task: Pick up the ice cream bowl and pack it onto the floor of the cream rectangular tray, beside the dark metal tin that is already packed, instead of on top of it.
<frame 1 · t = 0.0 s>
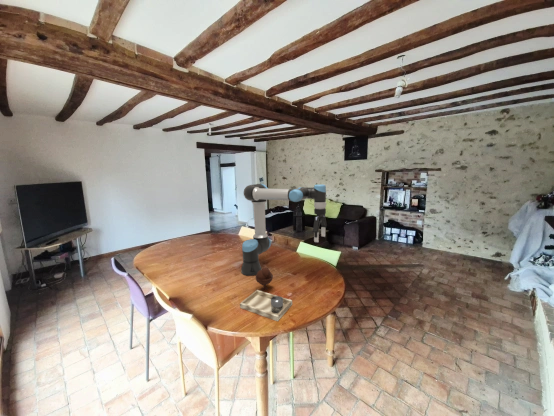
hand: (320, 239, 152), 28 cm above the table, fingers open, 13 cm apart
ice cream bowl: (264, 290, 142), on the table
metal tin: (277, 309, 120), point 1 cm above the table, touching cream rectangular tray
cream rectangular tray: (266, 307, 124), on the table
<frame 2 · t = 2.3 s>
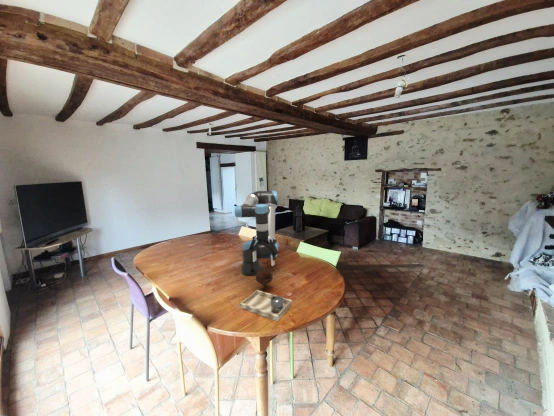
hand: (263, 263, 139), 18 cm above the table, fingers open, 13 cm apart
nothing on the table moved.
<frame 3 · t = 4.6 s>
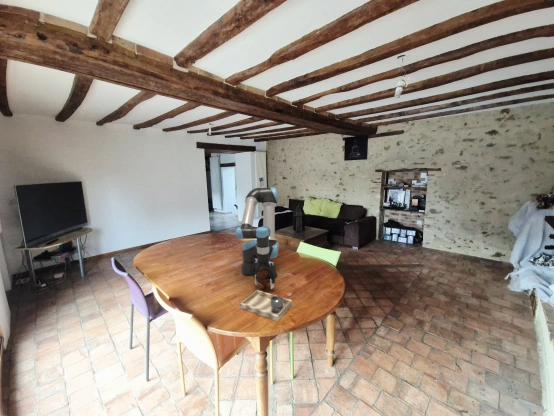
hand: (264, 285, 142), 3 cm above the table, fingers closed on ice cream bowl, 11 cm apart
ice cream bowl: (264, 290, 142), on the table, touching gripper
everything else where it was.
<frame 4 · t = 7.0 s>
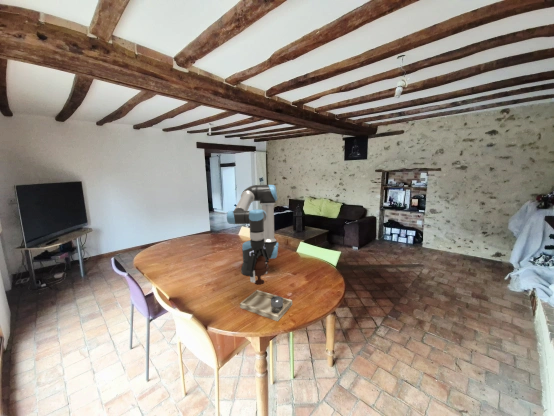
hand: (259, 277, 123), 17 cm above the table, fingers closed on ice cream bowl, 11 cm apart
ice cream bowl: (259, 282, 124), point 14 cm above the table, touching gripper
everything else where it was.
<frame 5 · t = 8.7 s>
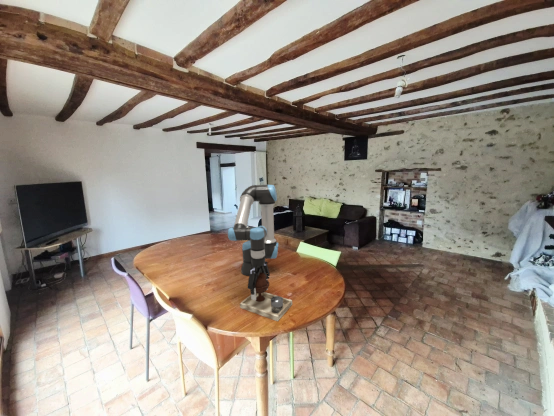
hand: (259, 294, 125), 7 cm above the table, fingers closed on ice cream bowl, 11 cm apart
ice cream bowl: (260, 299, 125), point 4 cm above the table, touching gripper
everything else where it was.
when the fingers open (6 cm above the table, at t = 9.9 s): ice cream bowl drops 2 cm, resting on cream rectangular tray.
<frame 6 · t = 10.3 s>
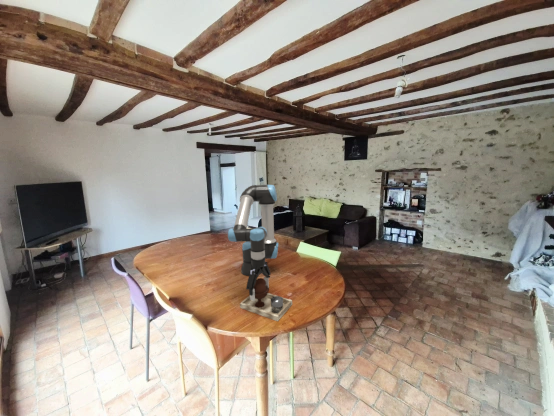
hand: (259, 293, 125), 7 cm above the table, fingers open, 13 cm apart
ice cream bowl: (259, 305, 125), point 1 cm above the table, touching cream rectangular tray
everything else where it was.
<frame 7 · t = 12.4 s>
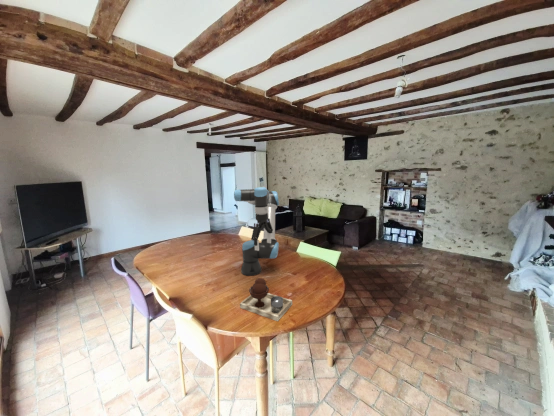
hand: (263, 246, 140), 28 cm above the table, fingers open, 13 cm apart
nothing on the table moved.
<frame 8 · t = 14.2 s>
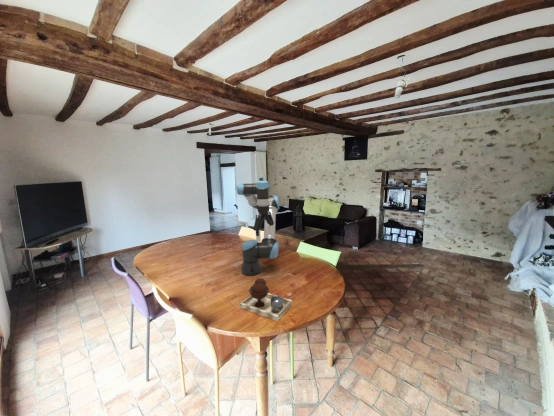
hand: (264, 237, 146), 32 cm above the table, fingers open, 13 cm apart
nothing on the table moved.
at the end: ice cream bowl inside the target area on the cream rectangular tray (0.8 cm from its centre), point 0.8 cm above the cream rectangular tray's base; ice cream bowl tilted 0°; the gripper is holding nothing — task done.
